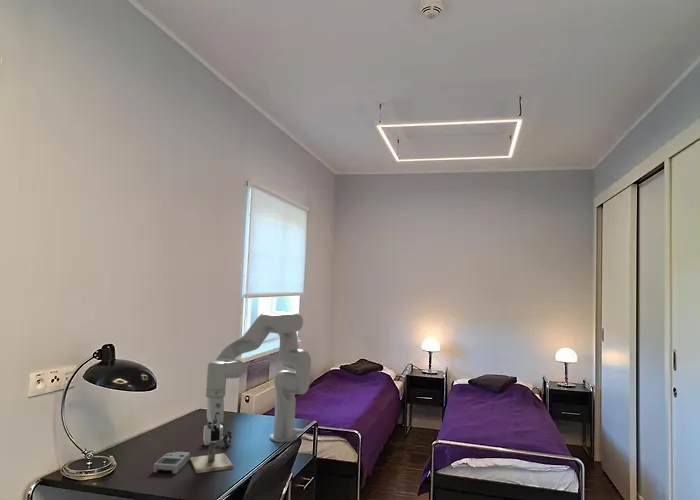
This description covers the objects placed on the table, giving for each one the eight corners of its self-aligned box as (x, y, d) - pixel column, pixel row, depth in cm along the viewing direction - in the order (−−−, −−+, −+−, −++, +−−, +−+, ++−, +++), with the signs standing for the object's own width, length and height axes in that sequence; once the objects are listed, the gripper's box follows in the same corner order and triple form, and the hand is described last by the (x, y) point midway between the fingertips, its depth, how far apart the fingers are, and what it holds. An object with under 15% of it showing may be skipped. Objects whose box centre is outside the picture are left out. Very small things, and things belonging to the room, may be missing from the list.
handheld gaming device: (189, 461, 197) (190, 451, 197) (175, 475, 182) (176, 465, 183) (168, 460, 197) (168, 450, 198) (152, 474, 183) (153, 464, 183)
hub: (219, 435, 199) (220, 423, 200) (223, 441, 193) (224, 428, 193) (202, 437, 196) (202, 424, 196) (205, 443, 190) (206, 430, 190)
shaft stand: (224, 456, 203) (225, 436, 204) (232, 468, 191) (234, 446, 192) (189, 460, 197) (191, 439, 197) (196, 473, 184) (197, 451, 185)
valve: (199, 446, 214) (225, 449, 212) (200, 430, 215) (226, 433, 213) (207, 441, 221) (231, 444, 219) (207, 426, 221) (232, 429, 219)
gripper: (230, 396, 190) (227, 443, 189) (220, 387, 205) (217, 430, 204) (211, 398, 186) (208, 445, 185) (201, 388, 202) (199, 432, 201)
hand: (212, 437), depth 195 cm, fingers closed on hub, 7 cm apart
